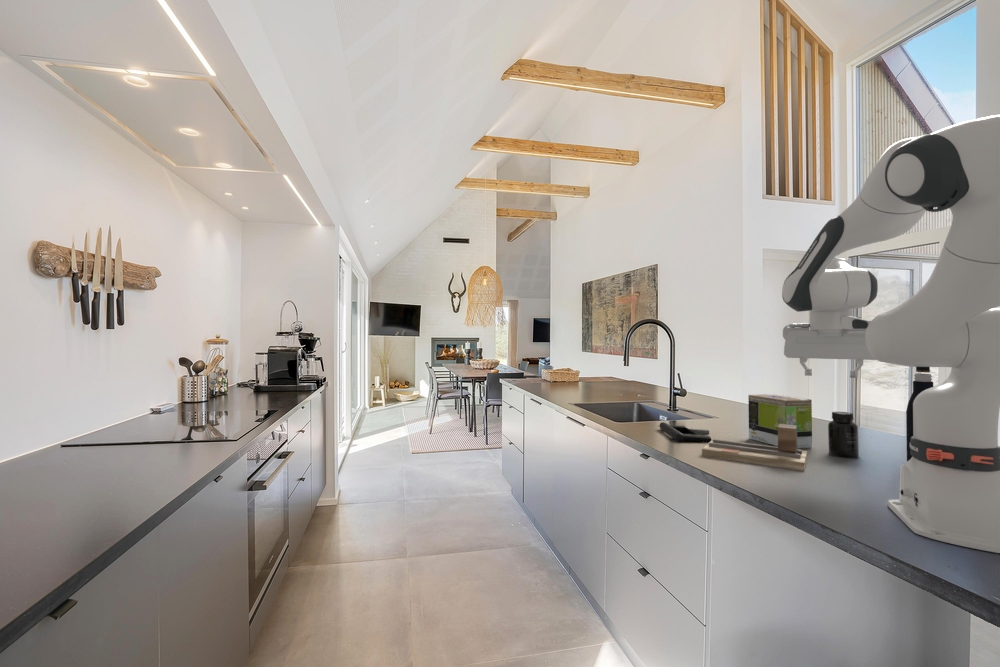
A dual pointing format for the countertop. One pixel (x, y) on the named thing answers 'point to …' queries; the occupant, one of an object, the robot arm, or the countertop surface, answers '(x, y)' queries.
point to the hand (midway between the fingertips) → (830, 376)
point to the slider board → (755, 454)
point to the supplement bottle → (843, 435)
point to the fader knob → (787, 438)
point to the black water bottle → (919, 385)
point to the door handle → (685, 433)
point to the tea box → (779, 418)
